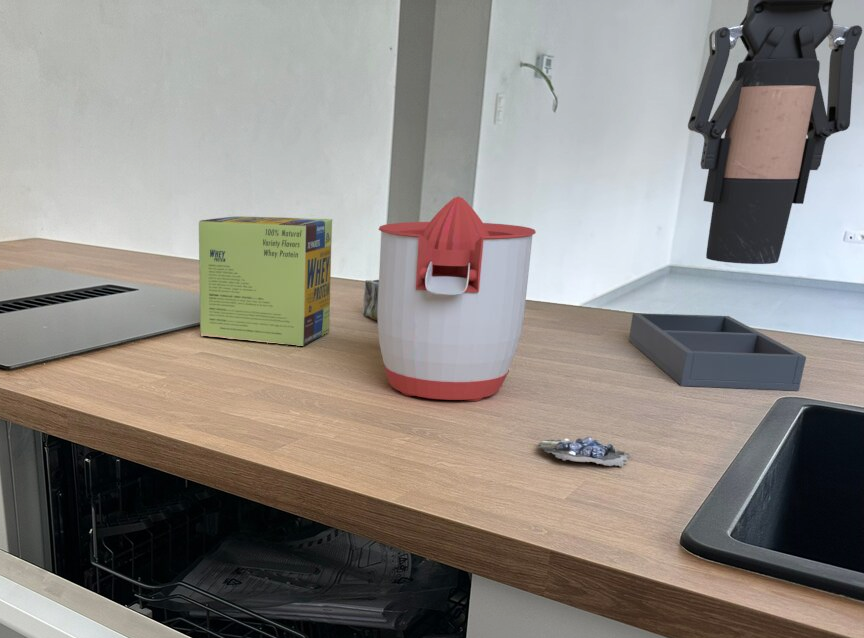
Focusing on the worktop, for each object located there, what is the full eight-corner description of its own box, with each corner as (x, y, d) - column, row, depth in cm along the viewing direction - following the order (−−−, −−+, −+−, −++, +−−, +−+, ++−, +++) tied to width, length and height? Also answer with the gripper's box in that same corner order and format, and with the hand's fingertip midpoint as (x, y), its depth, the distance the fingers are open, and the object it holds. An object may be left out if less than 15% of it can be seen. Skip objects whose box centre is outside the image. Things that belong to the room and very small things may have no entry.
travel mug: (687, 256, 97) (719, 63, 90) (742, 254, 99) (778, 66, 92) (740, 265, 90) (779, 57, 84) (798, 263, 92) (841, 59, 86)
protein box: (304, 347, 111) (307, 224, 106) (198, 337, 117) (196, 220, 112) (331, 332, 120) (334, 218, 115) (231, 323, 126) (230, 214, 121)
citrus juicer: (357, 407, 86) (366, 200, 79) (381, 366, 102) (390, 191, 95) (519, 420, 82) (542, 204, 76) (518, 376, 98) (537, 193, 91)
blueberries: (521, 448, 75) (523, 427, 74) (598, 439, 77) (600, 419, 76) (569, 474, 69) (572, 452, 68) (651, 464, 71) (655, 443, 70)
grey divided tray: (723, 344, 114) (728, 315, 113) (799, 391, 93) (806, 356, 91) (628, 340, 116) (632, 313, 115) (680, 386, 94) (686, 352, 93)
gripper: (699, -42, 83) (661, 203, 91) (932, -48, 80) (873, 206, 88) (676, -28, 90) (643, 199, 98) (890, -32, 87) (838, 201, 95)
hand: (752, 202), depth 93 cm, fingers closed on travel mug, 8 cm apart
